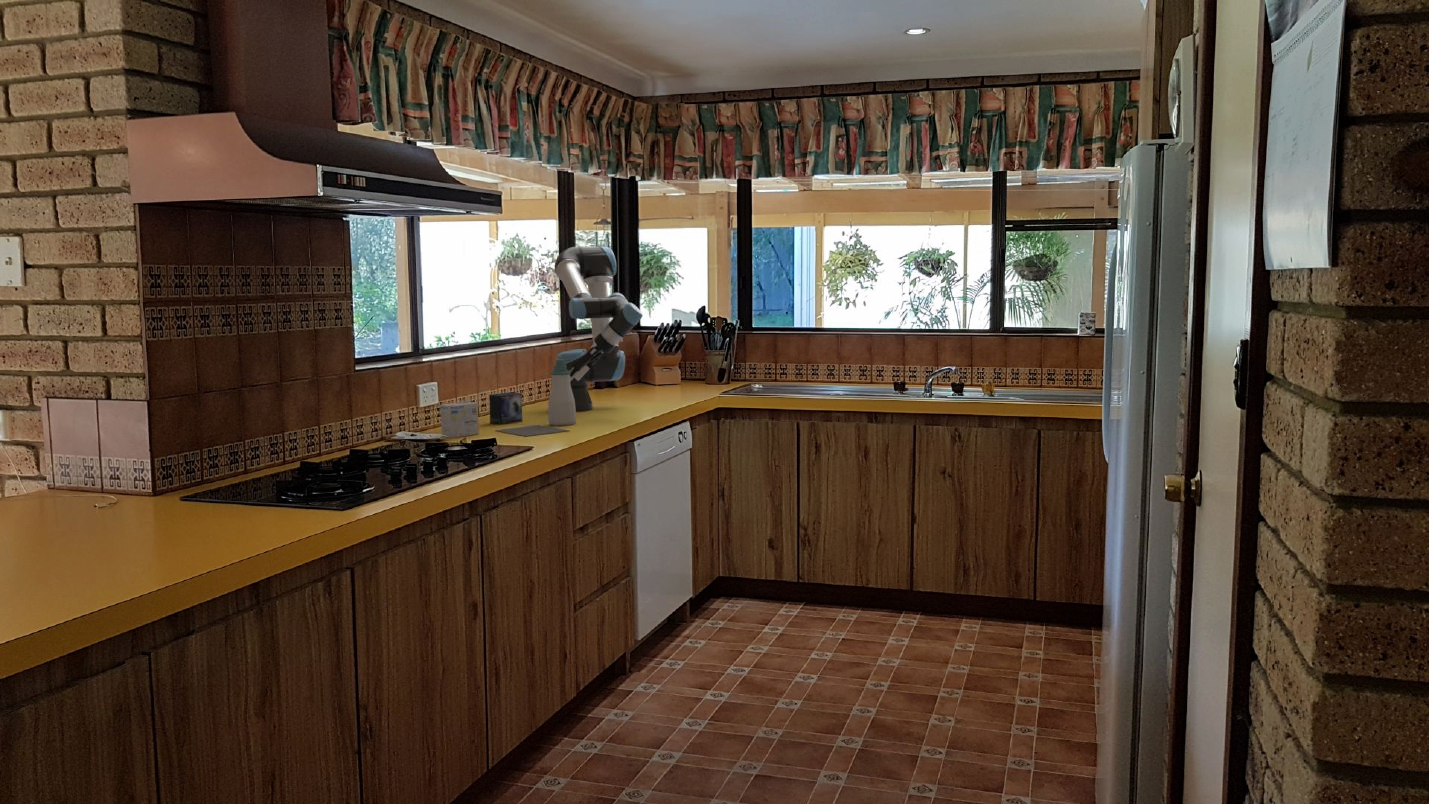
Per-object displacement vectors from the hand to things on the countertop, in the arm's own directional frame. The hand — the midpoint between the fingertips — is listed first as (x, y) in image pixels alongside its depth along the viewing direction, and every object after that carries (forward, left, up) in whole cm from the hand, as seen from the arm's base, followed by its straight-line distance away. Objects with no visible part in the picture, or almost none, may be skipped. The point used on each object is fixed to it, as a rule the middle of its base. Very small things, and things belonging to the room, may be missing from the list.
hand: (570, 380), depth 396 cm
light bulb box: (+50, +10, -14) cm, 53 cm away
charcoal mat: (+29, +20, -14) cm, 38 cm away
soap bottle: (+12, +13, -14) cm, 23 cm away
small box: (+23, -7, -14) cm, 28 cm away
